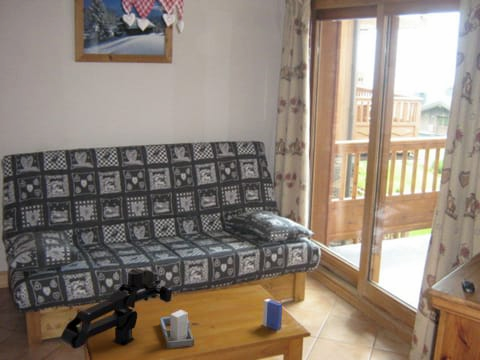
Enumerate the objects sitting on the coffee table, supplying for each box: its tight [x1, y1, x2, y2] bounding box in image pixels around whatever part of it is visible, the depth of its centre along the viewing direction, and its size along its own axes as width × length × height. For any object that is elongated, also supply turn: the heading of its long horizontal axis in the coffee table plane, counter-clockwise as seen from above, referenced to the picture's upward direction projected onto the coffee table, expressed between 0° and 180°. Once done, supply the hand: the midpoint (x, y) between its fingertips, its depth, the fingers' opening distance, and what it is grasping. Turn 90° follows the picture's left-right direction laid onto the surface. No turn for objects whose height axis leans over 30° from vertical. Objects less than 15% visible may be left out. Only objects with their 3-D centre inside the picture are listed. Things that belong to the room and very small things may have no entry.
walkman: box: [262, 298, 283, 331], centre depth 251 cm, size 8×3×12 cm, turn 54°
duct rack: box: [159, 316, 195, 349], centre depth 242 cm, size 20×11×5 cm, turn 16°
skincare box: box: [169, 309, 189, 341], centre depth 237 cm, size 6×4×12 cm
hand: (167, 284), depth 252 cm, fingers open, 9 cm apart
